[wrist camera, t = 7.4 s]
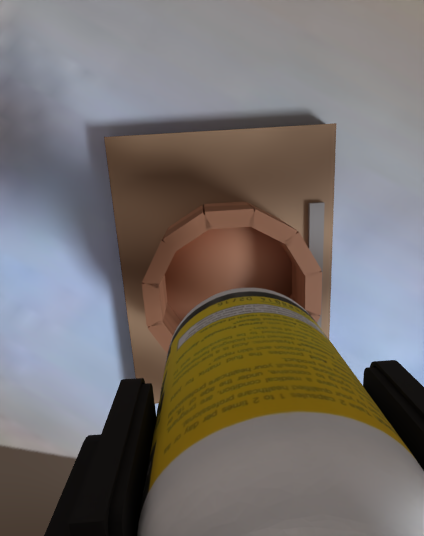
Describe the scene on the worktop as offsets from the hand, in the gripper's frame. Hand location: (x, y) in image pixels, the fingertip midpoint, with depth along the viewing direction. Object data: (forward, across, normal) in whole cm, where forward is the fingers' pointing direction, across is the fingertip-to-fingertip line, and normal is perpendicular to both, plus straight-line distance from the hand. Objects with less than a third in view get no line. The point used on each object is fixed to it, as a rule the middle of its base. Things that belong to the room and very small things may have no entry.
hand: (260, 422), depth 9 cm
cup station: (+13, 0, 0) cm, 13 cm away
